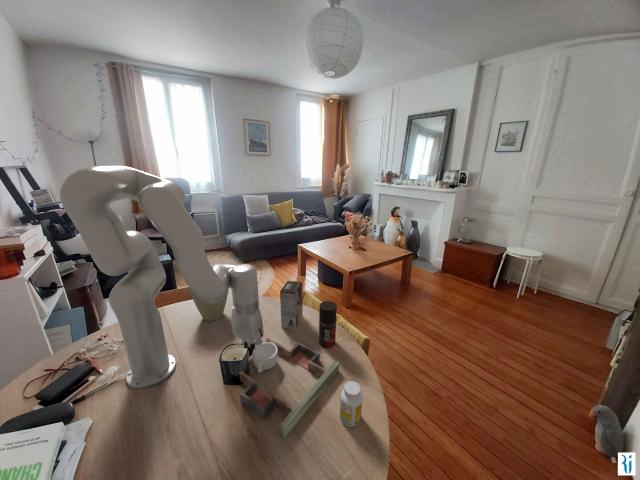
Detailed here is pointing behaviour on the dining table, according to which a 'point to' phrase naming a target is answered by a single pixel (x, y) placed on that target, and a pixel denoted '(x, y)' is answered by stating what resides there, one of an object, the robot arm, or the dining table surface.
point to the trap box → (265, 405)
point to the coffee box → (291, 304)
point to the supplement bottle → (351, 404)
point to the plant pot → (209, 308)
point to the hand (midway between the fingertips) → (250, 353)
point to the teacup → (265, 356)
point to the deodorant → (327, 324)
